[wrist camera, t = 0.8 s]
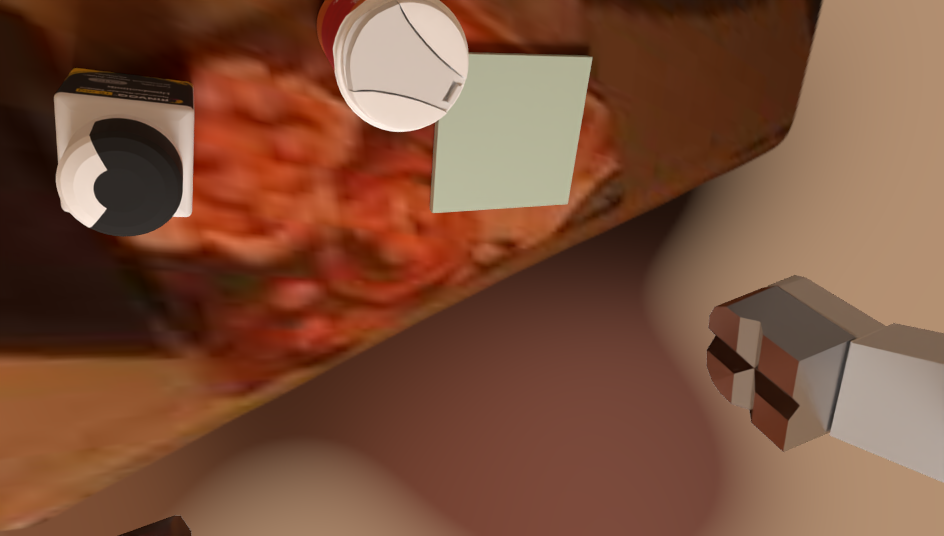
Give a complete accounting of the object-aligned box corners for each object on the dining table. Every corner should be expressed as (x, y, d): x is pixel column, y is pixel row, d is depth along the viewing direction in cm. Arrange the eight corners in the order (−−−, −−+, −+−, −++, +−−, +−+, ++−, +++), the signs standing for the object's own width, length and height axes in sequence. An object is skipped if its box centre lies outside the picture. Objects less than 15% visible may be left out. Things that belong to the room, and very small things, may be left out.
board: (439, 51, 49) (442, 53, 48) (587, 55, 54) (592, 57, 53) (429, 209, 55) (432, 213, 54) (563, 200, 60) (567, 204, 59)
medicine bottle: (193, 81, 44) (195, 132, 34) (191, 180, 47) (192, 252, 37) (71, 65, 41) (34, 116, 31) (77, 172, 44) (45, 249, 34)
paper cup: (426, 7, 47) (501, 40, 36) (376, 100, 49) (433, 160, 38) (329, -57, 43) (380, -42, 32) (279, 48, 45) (310, 97, 34)
